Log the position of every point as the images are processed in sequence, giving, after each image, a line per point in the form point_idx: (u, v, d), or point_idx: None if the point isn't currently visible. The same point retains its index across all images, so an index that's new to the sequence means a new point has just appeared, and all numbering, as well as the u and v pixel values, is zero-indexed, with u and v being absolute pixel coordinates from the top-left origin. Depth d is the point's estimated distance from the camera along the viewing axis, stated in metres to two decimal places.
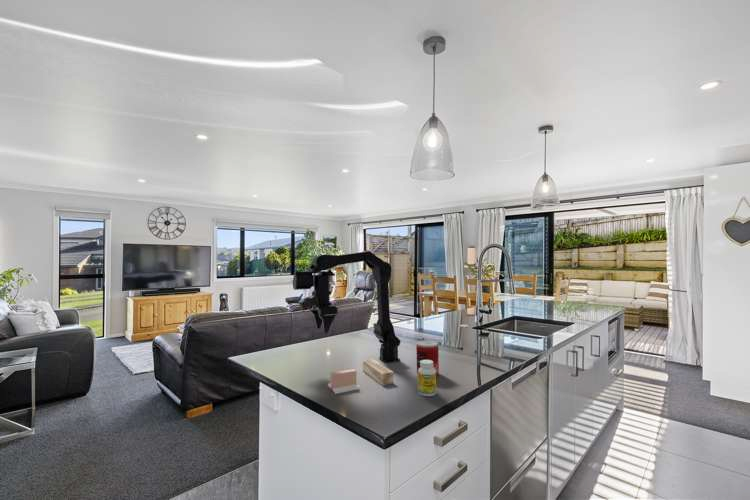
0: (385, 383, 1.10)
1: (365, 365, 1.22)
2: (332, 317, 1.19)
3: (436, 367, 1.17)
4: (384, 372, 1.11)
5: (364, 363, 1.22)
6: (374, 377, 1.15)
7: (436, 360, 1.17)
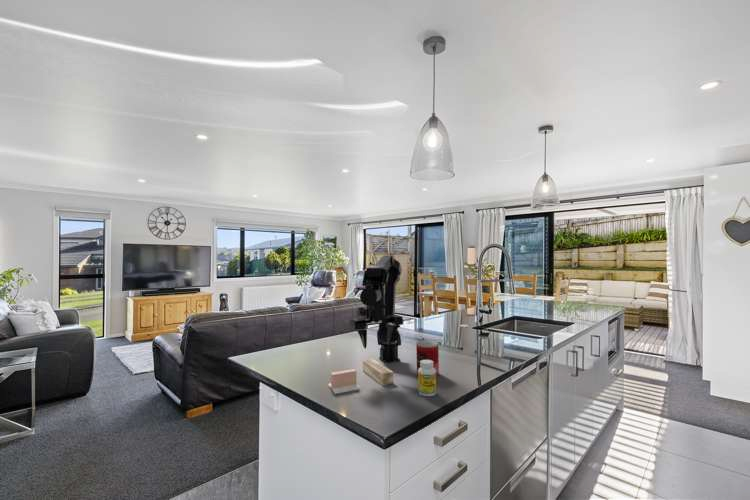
0: (385, 383, 1.10)
1: (365, 365, 1.22)
2: (361, 333, 1.13)
3: (436, 367, 1.17)
4: (384, 372, 1.11)
5: (364, 363, 1.22)
6: (374, 377, 1.15)
7: (436, 360, 1.17)
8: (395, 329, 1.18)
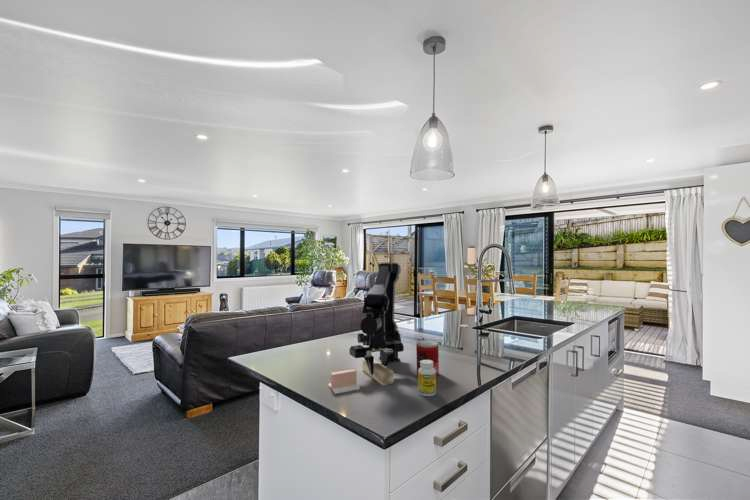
0: (385, 382, 1.10)
1: (364, 364, 1.22)
2: (368, 360, 1.14)
3: (436, 367, 1.17)
4: (384, 371, 1.11)
5: (364, 363, 1.22)
6: (374, 376, 1.15)
7: (436, 360, 1.17)
8: (389, 357, 1.17)
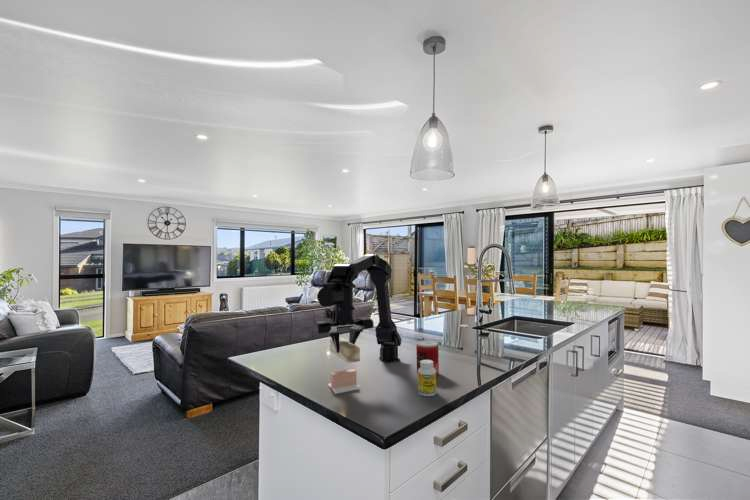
0: (350, 360, 1.00)
1: (332, 343, 1.12)
2: (333, 336, 1.04)
3: (436, 367, 1.17)
4: (349, 348, 1.01)
5: (331, 341, 1.13)
6: (340, 354, 1.05)
7: (436, 360, 1.17)
8: (357, 334, 1.07)
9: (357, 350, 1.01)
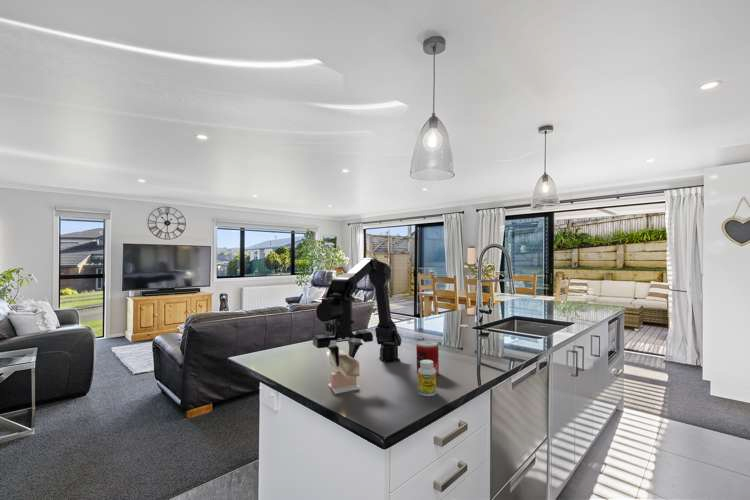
0: (350, 375, 1.00)
1: (331, 356, 1.12)
2: (333, 350, 1.04)
3: (436, 367, 1.17)
4: (349, 363, 1.01)
5: (331, 354, 1.13)
6: (339, 368, 1.05)
7: (436, 360, 1.17)
8: (356, 347, 1.07)
9: (356, 365, 1.01)
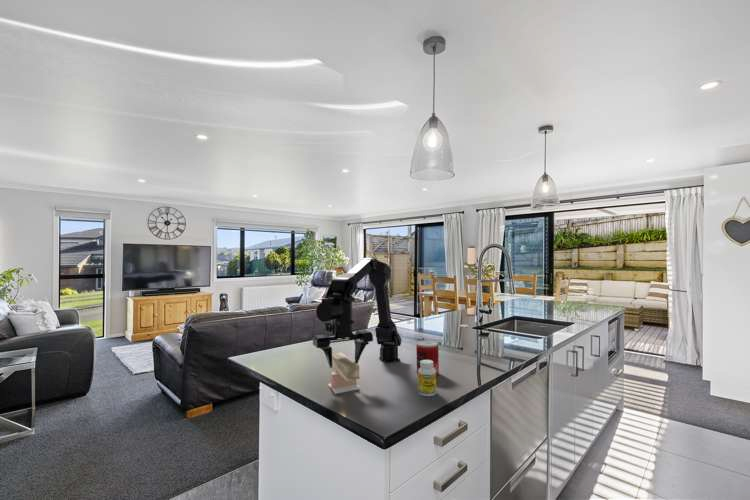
0: (350, 377, 1.00)
1: None
2: None
3: (436, 367, 1.17)
4: (349, 365, 1.01)
5: None
6: (339, 371, 1.05)
7: (436, 360, 1.17)
8: (362, 346, 1.08)
9: (356, 368, 1.01)
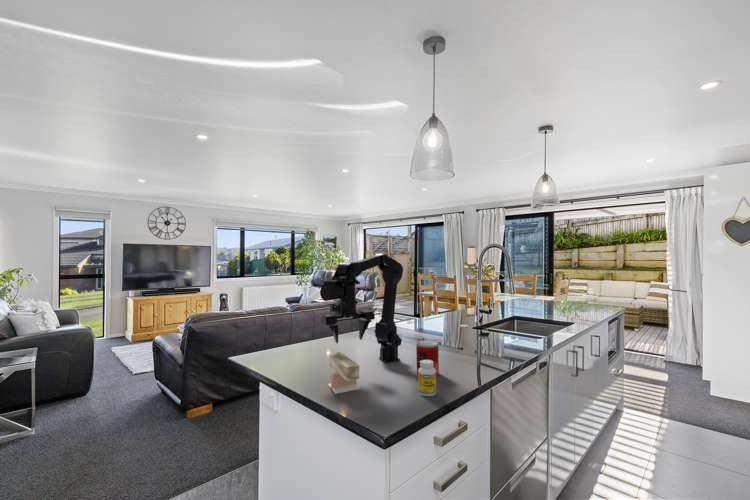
0: (350, 377, 1.00)
1: (331, 358, 1.12)
2: (333, 328, 1.16)
3: (436, 367, 1.17)
4: (349, 365, 1.01)
5: (331, 356, 1.13)
6: (339, 371, 1.05)
7: (436, 360, 1.17)
8: (366, 324, 1.21)
9: (356, 368, 1.01)
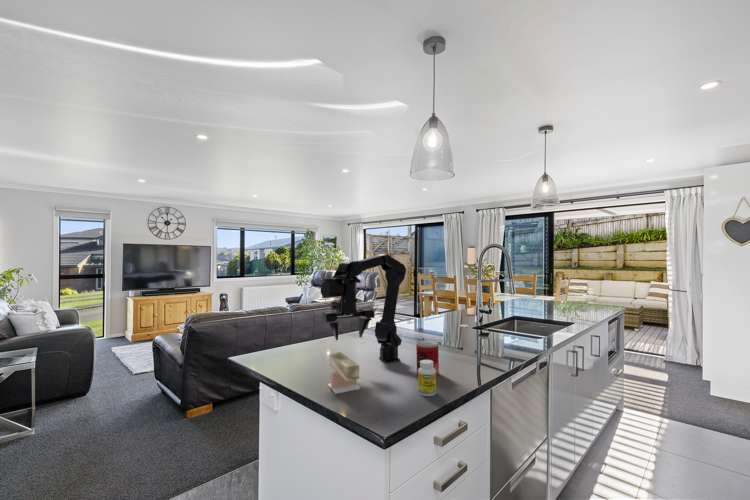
0: (350, 377, 1.00)
1: (331, 358, 1.12)
2: (333, 325, 1.18)
3: (436, 367, 1.17)
4: (349, 365, 1.01)
5: (331, 356, 1.13)
6: (339, 371, 1.05)
7: (436, 360, 1.17)
8: (366, 322, 1.23)
9: (356, 368, 1.01)
